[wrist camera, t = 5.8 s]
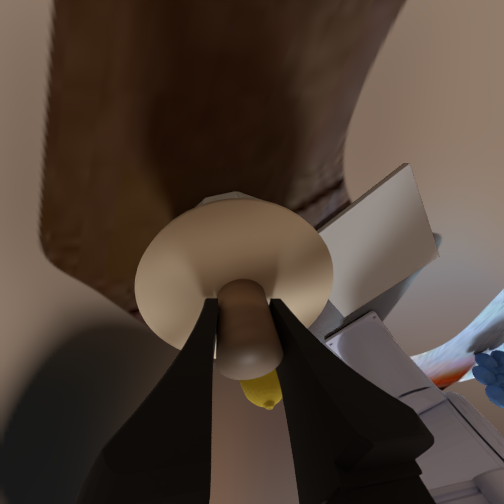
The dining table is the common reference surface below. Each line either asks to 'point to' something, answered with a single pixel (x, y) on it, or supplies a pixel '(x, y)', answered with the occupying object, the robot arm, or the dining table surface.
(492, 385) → the grapes
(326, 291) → the lid
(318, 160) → the dining table surface
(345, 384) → the robot arm
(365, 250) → the mat
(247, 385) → the lemon
